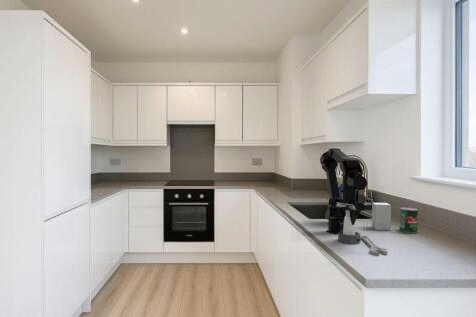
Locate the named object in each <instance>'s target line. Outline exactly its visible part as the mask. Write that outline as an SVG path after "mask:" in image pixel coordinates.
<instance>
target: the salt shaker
mask: <svg viewBox="0 0 476 317" xmlns="http://www.w3.org/2000/svg"><path fill="white" fill-rule="evenodd" d="M355 232H356V228H355V224H354V225H352V223H351V218H350V211H349V209H348V210H346V216H345V218H344V227H343V234H345V235H355Z"/></svg>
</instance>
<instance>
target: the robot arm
mask: <svg viewBox="0 0 476 317" xmlns="http://www.w3.org/2000/svg"><path fill="white" fill-rule="evenodd" d="M319 163H320V165H321V169H322V170H323V171H324V172H325V175H326V180H327V181H326V182H327V188H328V193H329V199H328V203H327V208H326V211H325V213H324V217H325V219H326V220H327V221H328V223H327V225H328V229H326V230H325V232H328V233H331V234H334V235H338V232H339V231H343V221H344V218H345V216H346V210H349V211H350V218H351V223H352V225H354V226H355V223H356V220H357V218H358V217H359V214H360V213H361V212H362V211H372V203H371V202H367V201H366V199H367V196H365V195H363V194H361V193H360V191H363V190H365V189H366V188H367V186H368V181H367V179H366V177H365V176H363V175H364V169H363V168H362V165H361V162H360V161H359V159H358V158H356V157H353V156H352V157H351V156H348V155H347V154H346V153H344V151H341V149H340V148H337V147H336V148H333V147H332V148H329V149H328V150H327V151H325V152H323V153H322V154H321V155H320V158H319ZM338 167H339V169H340V171H341V172H342V173H341V177H342V178H343V182H342V190H340V192H342V198H340V193H339V187H338V181H337V177H338V176H337V171H336V170H337V168H338ZM347 203H348V204H347ZM346 205H347V206H346ZM350 207H352V208H350ZM349 208H350V209H349Z"/></svg>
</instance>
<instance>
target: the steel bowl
mask: <svg viewBox="0 0 476 317" xmlns="http://www.w3.org/2000/svg"><path fill="white" fill-rule="evenodd" d="M361 236H362V235H361V233H360V232H359V231H355V235H345V234H343V231H339V232H338V234H337V241H338V242H339V243H343V244H346V245H357V244H360V243H361Z"/></svg>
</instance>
